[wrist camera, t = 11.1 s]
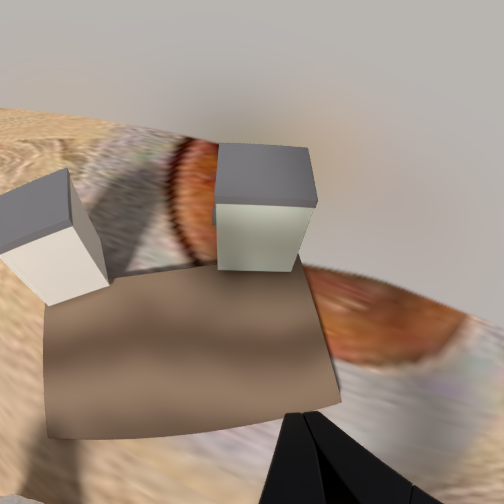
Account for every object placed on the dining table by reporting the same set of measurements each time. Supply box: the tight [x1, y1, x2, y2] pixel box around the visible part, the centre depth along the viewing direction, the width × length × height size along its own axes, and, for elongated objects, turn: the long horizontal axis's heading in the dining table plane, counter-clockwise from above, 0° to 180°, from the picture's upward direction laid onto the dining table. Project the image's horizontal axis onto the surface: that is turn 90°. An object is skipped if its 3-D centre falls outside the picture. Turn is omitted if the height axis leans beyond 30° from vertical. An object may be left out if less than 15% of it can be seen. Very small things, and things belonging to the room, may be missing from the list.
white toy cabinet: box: [0, 168, 110, 306], centre depth 18 cm, size 4×5×8 cm
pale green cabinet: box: [213, 143, 318, 272], centre depth 20 cm, size 4×5×8 cm
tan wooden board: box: [43, 254, 342, 440], centre depth 20 cm, size 11×19×1 cm, turn 101°
